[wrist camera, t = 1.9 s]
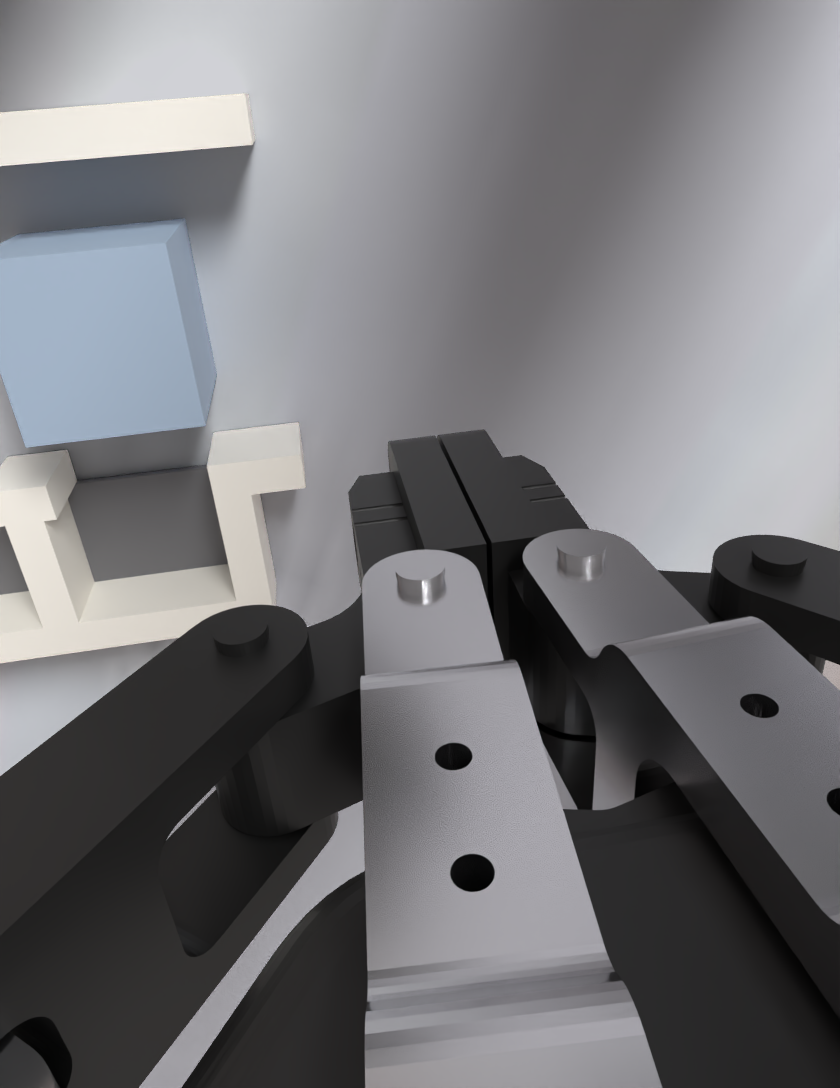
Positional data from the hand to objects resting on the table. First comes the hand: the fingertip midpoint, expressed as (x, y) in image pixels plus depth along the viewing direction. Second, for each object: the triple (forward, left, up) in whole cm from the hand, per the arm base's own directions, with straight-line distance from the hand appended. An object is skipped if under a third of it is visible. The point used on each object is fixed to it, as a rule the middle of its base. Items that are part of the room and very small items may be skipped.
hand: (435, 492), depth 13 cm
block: (+7, 0, -16) cm, 18 cm away
